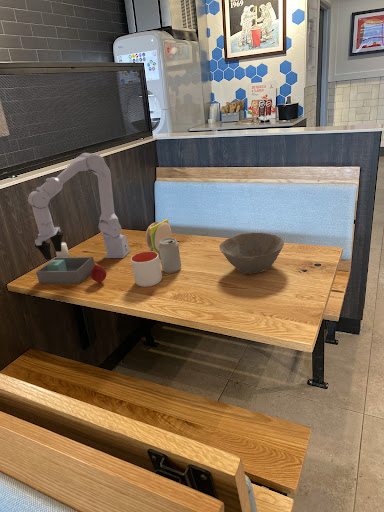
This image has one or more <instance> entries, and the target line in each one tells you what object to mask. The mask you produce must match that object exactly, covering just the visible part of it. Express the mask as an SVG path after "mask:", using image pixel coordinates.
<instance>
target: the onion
mask: <svg viewBox="0 0 384 512" xmlns="http://www.w3.org/2000/svg"><path fill="white" fill-rule="evenodd" d="M94 263H95V262H94ZM89 275H90V278H91V280H92V281H94V282H95V283H99V284H100V283H102V282H104V280H106V277H107V276H108V275H107V270H106V269H105V267H104V266H102V265H100V264H98V263H95V266H94V267H93V268H92V270H91V272H90V274H89Z"/></svg>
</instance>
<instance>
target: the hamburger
mask: <svg viewBox="0 0 384 512" xmlns="http://www.w3.org/2000/svg"><path fill="white" fill-rule="evenodd" d="M172 234H173V233H172V229H171V225H170V223H169V219H168V218H166V219H164V220H162V221H161V222H153V223H151V224H150V225H149V226H148V228H146V231H145V236H144V237H145V238H144V239H145V244H146V246H147V247H148V248H149V250H148V251H153V252H156V253H158V254H160V253H159V247H158V246H159V244H160V243H159V242H160V241H161V240H162V239H166V238H172Z"/></svg>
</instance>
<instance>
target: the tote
mask: <svg viewBox="0 0 384 512" xmlns="http://www.w3.org/2000/svg"><path fill="white" fill-rule="evenodd" d="M53 260H65V264H66V268H67V271H48V269H47V264H49V263H50V262H51V261H53ZM94 266H95V260H94V256H70V257H53V258H51V260H49V261H48V262H47V263H45V264H44V265H43V266H41V267H40V268H39V269H38V270H36V271H35V274H36V276H37V281H38V284H49V285H50V284H52V285H55V284H57V285H58V284H59V285H60V284H63V285H65V284H69V285H71V284H76V285H77V284H79V285H80V284H81V283H82V282H83V281H84V280H85V279H86V278H87V277H88V276H89V275H90V272H91V270H92V268H93V267H94Z"/></svg>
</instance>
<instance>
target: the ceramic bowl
mask: <svg viewBox="0 0 384 512" xmlns="http://www.w3.org/2000/svg"><path fill="white" fill-rule="evenodd" d="M284 244H285V242H284V238H281V236H278V235H275V234H272V233H265V232H246V233H241V234H237V235H235V236H231V237H229V238H227V239H225V240H224V241H223V242H221V243H220V244H219V246H218V247H219V250H220V252H221V253H222V255H223V256H224V257H225V258H226V260H227V261H228V262H229V263H230V264H231V265H232V266H233V267H234V268H235V270H237V271H239V272H241V273H244V274H259V273H261V272H265V271H266V270H268V269H270V268H272V266H273V264H274V263H275V262H276V260H277V259H278V256H279V255H280V253H281V252H282V249H283V248H284V246H285V245H284Z"/></svg>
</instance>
